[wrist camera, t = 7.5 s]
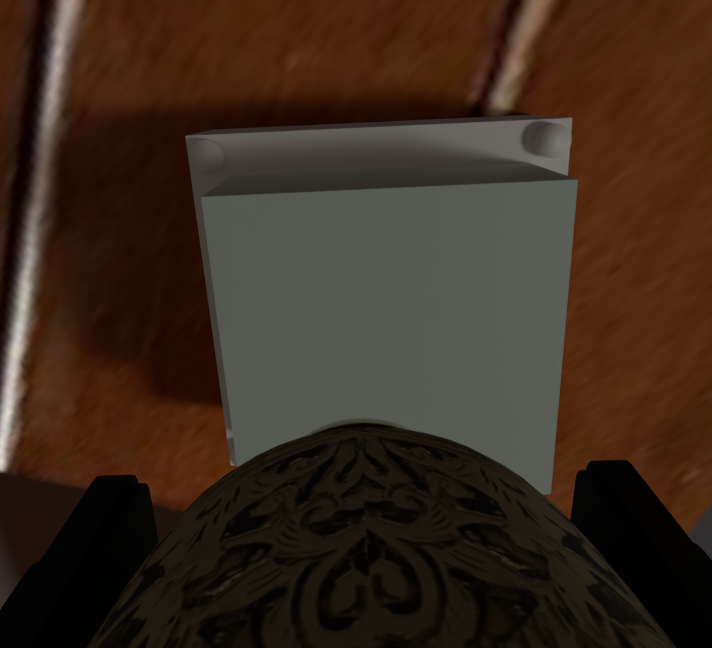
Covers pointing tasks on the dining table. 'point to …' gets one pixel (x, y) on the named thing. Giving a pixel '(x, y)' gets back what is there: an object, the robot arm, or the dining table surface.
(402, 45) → the dining table surface
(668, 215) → the dining table surface
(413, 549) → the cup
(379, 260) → the grey stacking block
